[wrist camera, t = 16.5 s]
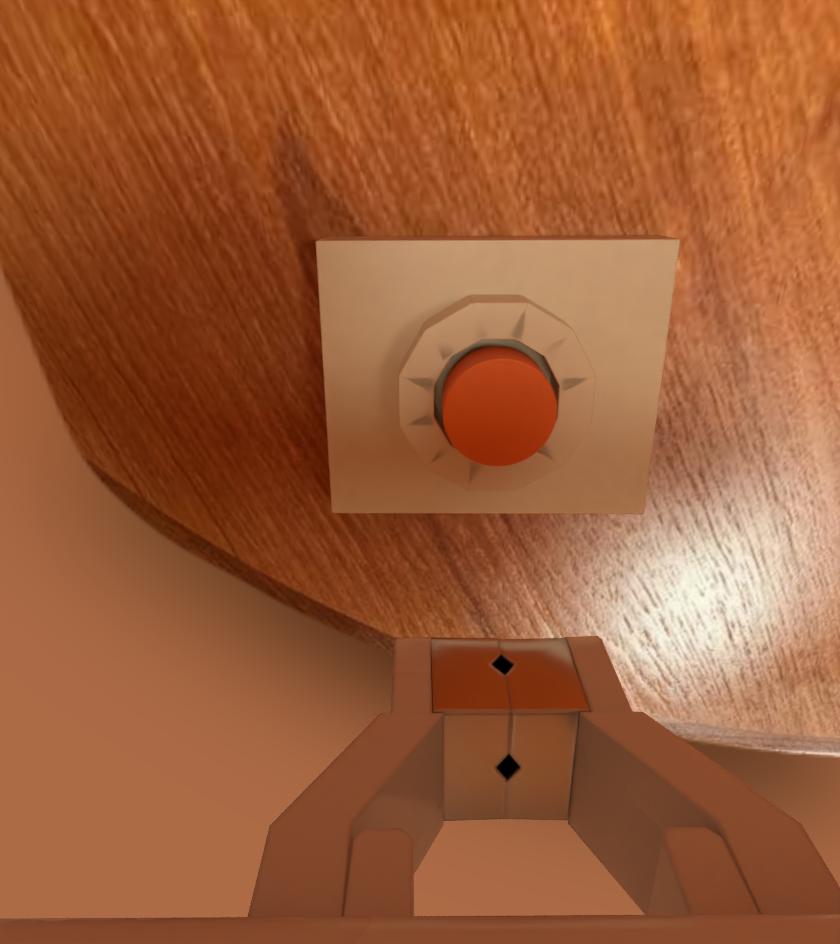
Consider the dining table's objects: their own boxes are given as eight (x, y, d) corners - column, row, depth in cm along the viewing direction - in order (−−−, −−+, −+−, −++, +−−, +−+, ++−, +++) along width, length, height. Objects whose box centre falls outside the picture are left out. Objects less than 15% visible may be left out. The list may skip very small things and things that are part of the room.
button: (441, 448, 24) (442, 467, 22) (442, 345, 22) (442, 357, 21) (545, 448, 24) (553, 467, 22) (552, 345, 22) (561, 357, 21)
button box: (339, 490, 28) (324, 535, 24) (325, 236, 24) (305, 244, 21) (628, 491, 28) (658, 536, 24) (659, 235, 24) (701, 242, 20)
